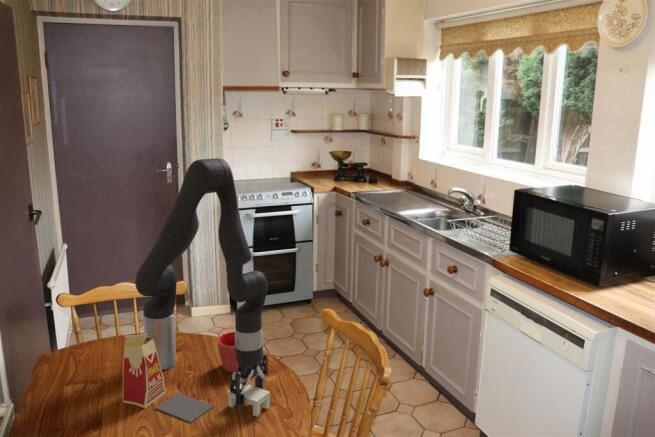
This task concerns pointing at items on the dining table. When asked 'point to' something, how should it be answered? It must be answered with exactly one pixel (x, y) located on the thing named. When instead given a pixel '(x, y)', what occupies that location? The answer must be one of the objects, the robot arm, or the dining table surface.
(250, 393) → the stool
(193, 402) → the mat
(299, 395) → the dining table surface
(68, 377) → the dining table surface
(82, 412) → the dining table surface
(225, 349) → the flower pot
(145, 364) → the milk carton
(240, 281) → the robot arm
